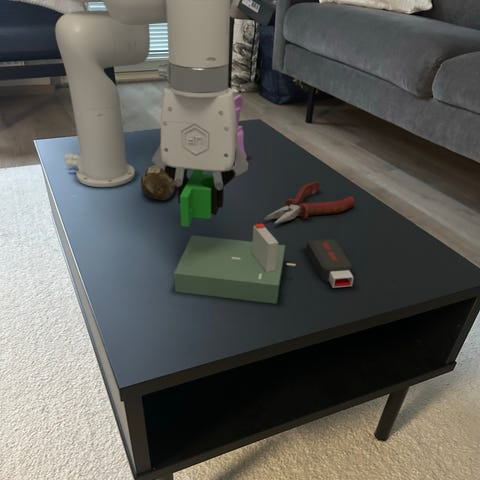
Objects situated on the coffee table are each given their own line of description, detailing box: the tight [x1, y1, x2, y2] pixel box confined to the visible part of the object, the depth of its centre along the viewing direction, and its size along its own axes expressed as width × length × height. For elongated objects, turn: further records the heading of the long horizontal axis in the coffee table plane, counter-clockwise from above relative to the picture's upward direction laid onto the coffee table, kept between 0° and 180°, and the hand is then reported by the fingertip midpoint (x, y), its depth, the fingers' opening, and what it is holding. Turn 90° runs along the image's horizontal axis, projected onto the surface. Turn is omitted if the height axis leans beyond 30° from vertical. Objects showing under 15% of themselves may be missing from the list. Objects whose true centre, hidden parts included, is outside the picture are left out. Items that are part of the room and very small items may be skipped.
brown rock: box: [140, 165, 178, 201], centre depth 104 cm, size 8×7×10 cm
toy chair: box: [234, 94, 248, 166], centre depth 118 cm, size 8×9×15 cm
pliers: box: [263, 181, 356, 225], centre depth 101 cm, size 12×20×3 cm, turn 133°
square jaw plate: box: [252, 223, 279, 272], centre depth 78 cm, size 6×2×5 cm, turn 21°
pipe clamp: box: [179, 170, 214, 227], centre depth 74 cm, size 11×4×5 cm, turn 173°
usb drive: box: [305, 238, 355, 289], centre depth 84 cm, size 5×12×3 cm, turn 10°
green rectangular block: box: [173, 234, 297, 305], centre depth 81 cm, size 18×12×4 cm, turn 81°
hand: (200, 208), depth 75 cm, fingers closed on pipe clamp, 3 cm apart
